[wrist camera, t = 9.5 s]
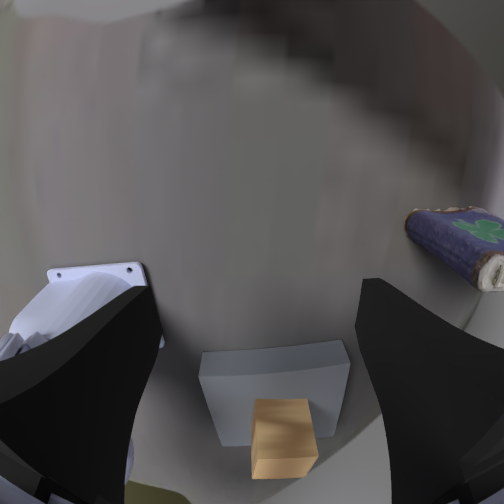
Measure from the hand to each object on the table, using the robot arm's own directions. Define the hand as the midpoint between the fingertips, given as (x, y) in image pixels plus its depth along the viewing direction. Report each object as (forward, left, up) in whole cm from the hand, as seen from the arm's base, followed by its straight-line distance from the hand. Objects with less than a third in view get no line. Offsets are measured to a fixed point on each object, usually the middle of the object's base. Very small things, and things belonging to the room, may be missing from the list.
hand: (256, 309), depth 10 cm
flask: (+16, -1, -11) cm, 19 cm away
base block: (+1, -17, -11) cm, 20 cm away
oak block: (+1, -17, -8) cm, 19 cm away
